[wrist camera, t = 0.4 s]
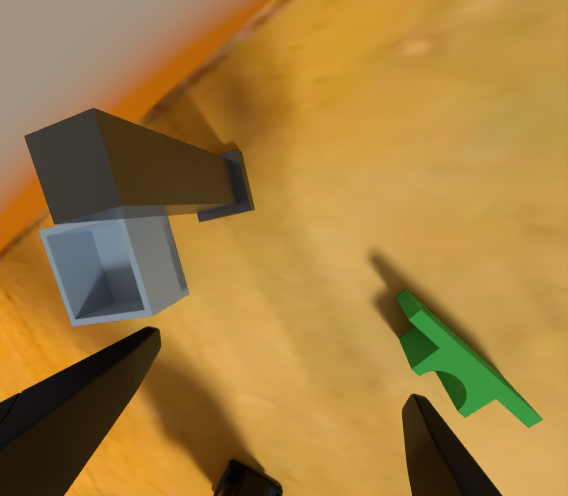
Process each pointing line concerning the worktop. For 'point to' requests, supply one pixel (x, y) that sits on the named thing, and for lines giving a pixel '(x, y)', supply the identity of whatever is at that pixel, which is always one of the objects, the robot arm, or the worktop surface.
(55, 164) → the dark square pedestal
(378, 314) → the worktop surface
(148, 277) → the box
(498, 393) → the pipe clamp
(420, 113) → the worktop surface
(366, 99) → the worktop surface
